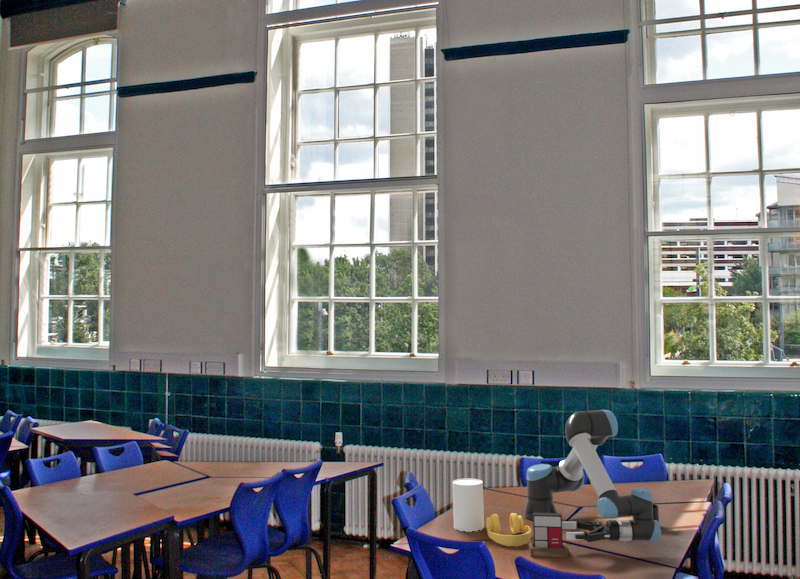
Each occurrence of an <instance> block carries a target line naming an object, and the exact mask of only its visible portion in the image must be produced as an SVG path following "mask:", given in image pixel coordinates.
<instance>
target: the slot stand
mask: <svg viewBox="0 0 800 579" xmlns="http://www.w3.org/2000/svg"><path fill="white" fill-rule="evenodd" d="M527 543H528V552H529V554H530V557H531V558H532V557H534V558H535V557H536V558H537V557H538V558H541V557H542V558H544V557H545V558H547V557H549V558H551V557H554V558H558V557H559V558H560V557H563V558H565V557H566V558H567V557H568V558H569V557H570V556H569V555H570V554H569V552H570V551H569V547H568V545H567V543H566V542H564V541H563V548H534V541H533V542H532V541H528V542H527Z"/></svg>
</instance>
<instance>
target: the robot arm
mask: <svg viewBox="0 0 800 579" xmlns="http://www.w3.org/2000/svg"><path fill="white" fill-rule="evenodd" d="M618 431H619V426H618V420H617V417H616V416H615V414H614V413H613V412H612V411H611V410H610V409H595V410H580V411H579V410H578V411H575V412H574V413H572V414H570V416H569V417H568V419H567V420H566V422H565V428H564V434H565V438H566V441H567V443H568V445H569V446H570V447H571V448H572V449H571V450H570V452H569V453H568V455H567V457H566V458H564V459H562V460H561V461H560V462H559V464H558V465H557V466H552V465H551V464H548V463H542V464H540V463H538V464H534V465H532V466H530V467H528V468H527V470H526V491H527V493H526V494H527V501H526V504H525V507H524V510H523V511H524V512H523V514H524V518H526V519H527V520H530V521H531V520H532V521H533V513H558V511H557V508H556V505H555V503H554V496H553V494H555V493H565V492H576V491H579V490H581V489H582V488H583V486H584V485H585V478H586V476H585V473H586V475H587V477H588V478H587V479H589V482H590V484H591V486H592V488H593V489H594V492H595V494H596V495H597V498H598V500H597V502H596V508H597V512H598V515H599V516H600V517H601V518H603V519H611V520H607V521H606V524H603V523H602V522H601V521H590V520H584V519H576V521H562V530H580V529H581V530H583V531H566V532H565V540H566V541H585V542H587V543H593V542H597V541H603V540H604V541H605V540H608V541H611V542H616V541H617V542H618V541H624V542H625V543H627V542H628V541H631V542H632V541H635V542H636V541H641V542H643V541H644V542H651V541H658V540H659V541H660V539H661V537H662V529H661V524H660V521H659V522H658V521H657V520H654V519H653V504H654V503H653V502H654V500H653V498H654V497H653V493H652V491H651V489H649V488H645V487H635V488H632V489H631V494H630V495H628V494H627V495H620V494H619V492H618V490H617V489H616V486H614V483H613V481H612V479H611V478H610V475H609V474H608V472H607V470H606V468H605V466H604V464H603V462H602V460H601V459H600V456H599V455H598V452H597V448H598V446H602V445H603V444H604V443H605V442H606V441H607V439H608V438H613V437H616V436H617V435H618ZM584 471H585V473H584ZM631 516H632V519H617V520H615V519H616V518H622V517H631Z"/></svg>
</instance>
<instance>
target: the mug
mask: <svg viewBox="0 0 800 579" xmlns="http://www.w3.org/2000/svg"><path fill="white" fill-rule="evenodd" d="M659 514H660V513H659V505H658V504H655V503H653V519H654V520H657V521H658V522H659V523H660V517H659V516H660V515H659Z"/></svg>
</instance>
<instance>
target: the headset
mask: <svg viewBox="0 0 800 579" xmlns="http://www.w3.org/2000/svg"><path fill="white" fill-rule="evenodd" d="M509 514H510V515H509V527H510V528H509V529H510V532H511V534H501V521H500V516H499V515H498V513H492V514H491V515H490V516H487V517H486V518H485V519H486V520H485V525H486V526H485V527H486V528H485V529H486V531H487V535H488V537H489V539H490V540H492V541H493V542H495V543H497V544H500V545H503V546H506V547H510V546H515V547H521V546H524V545H526V544H527V543H528V542H530V540H531V539H532V529H531V527H530V526H529V525H527V524H526V525H525V524H524V517H523V515H521V514H519V515H518V513H516V512H515V513H514V512H511V513H509ZM523 531H526V532H525V533H522V534H519V533H520V532H523Z"/></svg>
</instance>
